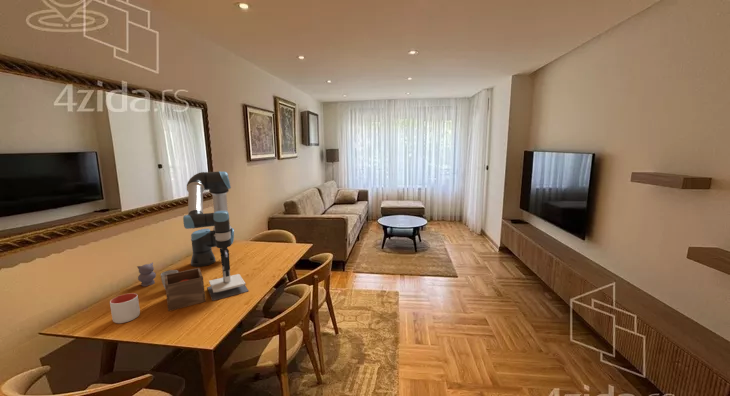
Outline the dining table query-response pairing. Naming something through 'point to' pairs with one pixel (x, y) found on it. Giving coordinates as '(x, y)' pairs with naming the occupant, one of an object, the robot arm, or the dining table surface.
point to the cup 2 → (166, 274)
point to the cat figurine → (146, 274)
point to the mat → (227, 292)
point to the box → (184, 289)
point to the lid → (226, 283)
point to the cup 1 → (125, 308)
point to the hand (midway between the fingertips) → (226, 280)
